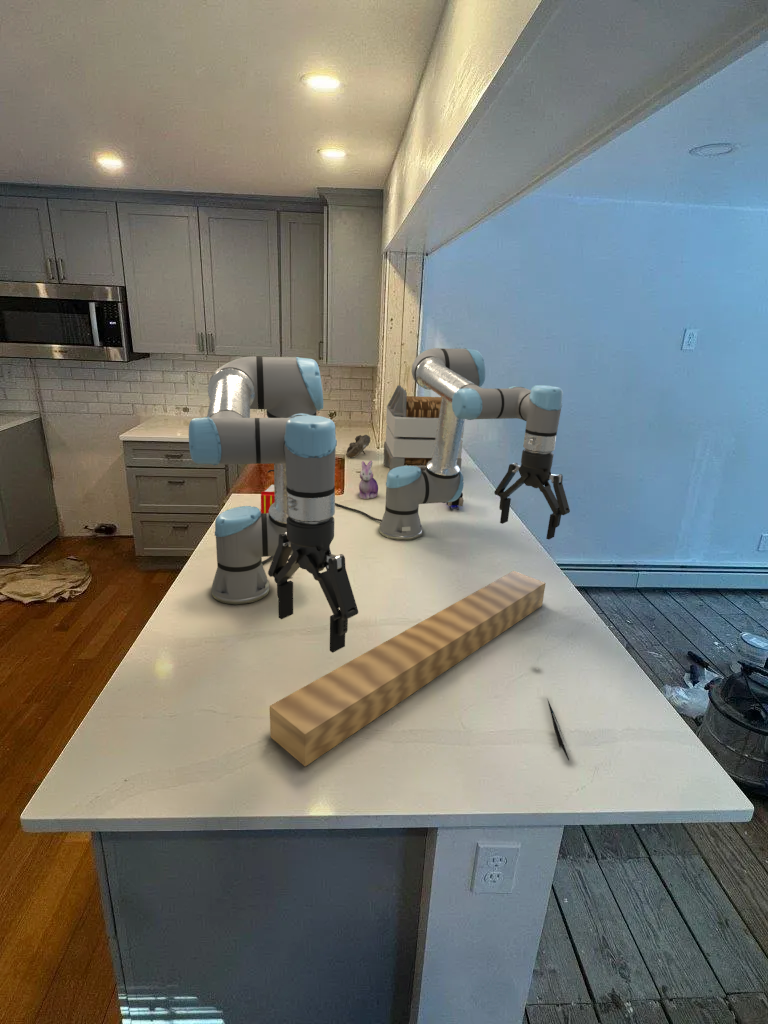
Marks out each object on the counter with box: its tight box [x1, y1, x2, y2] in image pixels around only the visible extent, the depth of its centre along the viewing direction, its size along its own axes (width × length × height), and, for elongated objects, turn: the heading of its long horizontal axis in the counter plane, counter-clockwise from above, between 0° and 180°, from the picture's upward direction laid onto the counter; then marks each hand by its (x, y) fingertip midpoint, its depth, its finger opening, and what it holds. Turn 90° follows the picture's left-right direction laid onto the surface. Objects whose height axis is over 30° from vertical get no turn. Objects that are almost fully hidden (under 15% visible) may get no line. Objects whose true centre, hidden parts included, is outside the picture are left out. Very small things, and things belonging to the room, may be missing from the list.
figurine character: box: [446, 492, 464, 511], centre depth 230 cm, size 7×8×15 cm
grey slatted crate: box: [383, 384, 465, 472], centre depth 268 cm, size 34×33×41 cm
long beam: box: [269, 570, 546, 767], centre depth 128 cm, size 83×10×7 cm, turn 137°
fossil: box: [345, 434, 371, 459], centre depth 304 cm, size 22×10×15 cm
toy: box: [260, 484, 275, 513], centre depth 209 cm, size 12×13×30 cm
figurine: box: [358, 460, 379, 500], centre depth 236 cm, size 9×10×15 cm
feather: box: [536, 668, 570, 761], centre depth 113 cm, size 2×28×2 cm
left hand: (310, 631), depth 97 cm, fingers open, 13 cm apart
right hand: (526, 529), depth 147 cm, fingers open, 13 cm apart
